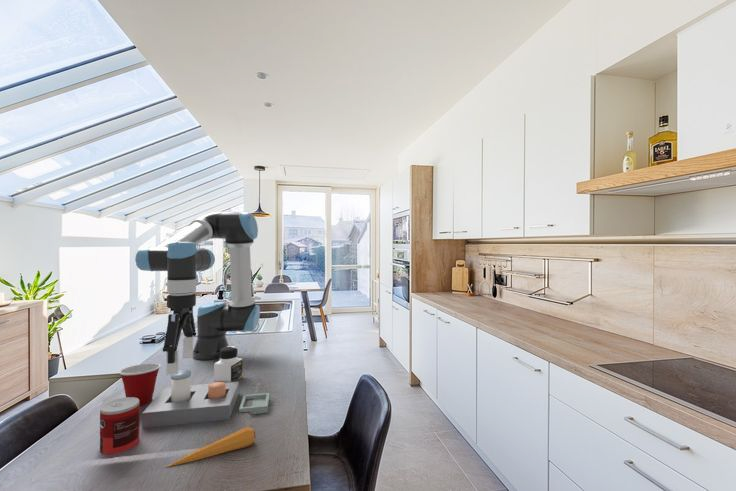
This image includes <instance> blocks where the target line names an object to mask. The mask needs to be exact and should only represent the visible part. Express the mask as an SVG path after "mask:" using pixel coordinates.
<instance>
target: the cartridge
mask: <svg viewBox="0 0 736 491" xmlns="http://www.w3.org/2000/svg"><path fill="white" fill-rule="evenodd" d="M191 378H192V371H191V370H189V369H185V370H184V369H181V370H178V374H172V375H170V379H171V384H170V385H171V386H170V387H171V403H173V402H184V401H190V398H191V384H192V382H191V381H192V380H191Z"/></svg>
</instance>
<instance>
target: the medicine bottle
mask: <svg viewBox="0 0 736 491" xmlns="http://www.w3.org/2000/svg"><path fill="white" fill-rule="evenodd" d="M242 377H243V358H239V357H238V348H237V346H232V345H231V346H230V345H229V346H227V347H224V348H222V349H221V350H220V358H219V360H218V361H216V362H215V363H214V364H213V382H225V383H229V382H235V381H237V380H239V379H241V378H242Z"/></svg>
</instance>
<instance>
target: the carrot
mask: <svg viewBox="0 0 736 491" xmlns="http://www.w3.org/2000/svg"><path fill="white" fill-rule="evenodd" d="M255 439H256V431H255V430H254V429H253V428H252V427H250V426H246V427H243V428H241V429H239V430H238V431H235V432H233V433H231V434H228V435H226V436H224V437H223V438H221V439H218V440H216V441H214V442H212V443H210V444H208V445H206V446H203V447H202V448H200V449H198V450H195V451H193V452H191V453H189V454H186V455H185V456H184V457H183V456H182V458H179V459H178V460H176V461H175V462H174V461H173V462H172V463H170V464H168V465H166V466H164V467H163V468H165V469H166V468H171V467H173V466H178V465H183V464H186V463H191V462H195V461H199V460H202V459H203V460H204V459H206V458H210V457H215V456H218V455H222V454H225V453H229V452H233V451H236V450H241V449H244V448H248V447H251V446H252V445H253V444H254V443H255Z"/></svg>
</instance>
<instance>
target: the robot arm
mask: <svg viewBox="0 0 736 491" xmlns="http://www.w3.org/2000/svg"><path fill="white" fill-rule="evenodd" d="M258 227H259V226H258V222H257V219H256V217H255V216H254V215H253V213H250V212H243V211H236V212H235V211H231V212H230V211H216V212H209V213H208V214H204V215H202V216H200V217H197V218H196V219H194V220H193V221H191V222H190V223H189V225H188V227H186V228H185V229H183V230H181V231H180V232H177V233H175V235H172V236H171V237H169V238H168V239H166V240H164V241H163V242H162V243H160V244H158V245H157V246H155V247H141V248H139V249H138V251H137V252H136V254H135V259H134V260H135V263H136V264H135V265H136V267H137V269H139V270H140V271H143V272H144V271H146V272H167V276H166V279H167V282H165V286H166V292H167V294H168V295H167V296H166V308H168V309H172V310H173V312H172V313H169V314H168V315H167V319H168V320H167V327H166V332H165V336H164V337H165V338H164V342H163V348H162V352H163V353H165V352H166V369H165V370H166V371H165V372H166V375H167V376H169V375H170V376H171V375H172V374H178V371H179V349H178V346H179V341H180V338H181V334H182V332H183V335H184V336H183V338H182V359H192V358H193V359H195V360H200V361H208V360H215V359H220V350H221V349H222V348H224V347H227V346H230V344H229V343H228V339H227V337H226V333H227V332H236V333H237V332H239V333H240V332H242V333H246V332H252V331H255V330H256V329H257V326H258V324H259V321H260V316H261V306H260V305H258V304H256V300H255V299H254V298H253V297H252V296H253V295H252V293H253V292H252V269H251V268H252V267H251V266H252V263H251V262H252V261H251V246H252V245H253V244H254V240H256V239H257V238H258V233H259V228H258ZM211 239H223V240H224V239H225V240H224V241H225V245H227V246H228V248H229V270H230V291H231V294H230V295H231V296H230V297H231V300H230V301H229V302H228V303H226V301H216V302H209V303H206V304H203V305H200V306H199V307H198V308H197V313H196V314H197V315H196V317H197V319H196V320H197V322H196V325H195V318H194V311H193V310H194V307H195V306H196V305H197V304H196V303H197V294H196V293H195V292H197V272H205V271H207V270H209V269H211V268H212V267H213V266H214V264H215V261H216V259H215V258H216V257H215V255H214V253H213V251H211V250H210V249H208V248H204V247H197V246H198V245H199V244H201V243H202V242H207V241H209V240H211ZM196 326H197V328H196ZM194 337H197V338H196V342H195V344H194Z"/></svg>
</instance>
